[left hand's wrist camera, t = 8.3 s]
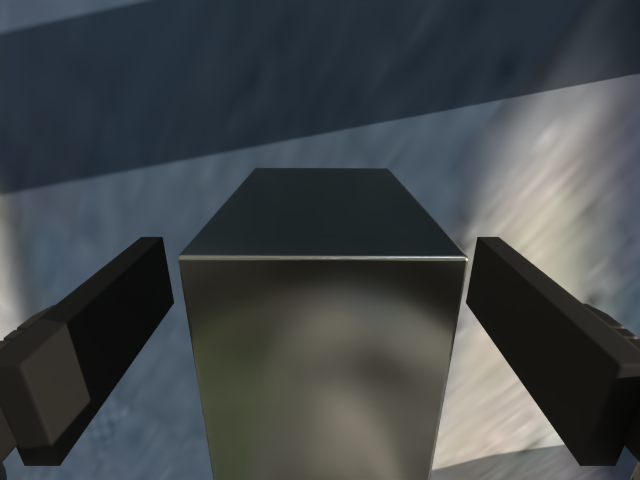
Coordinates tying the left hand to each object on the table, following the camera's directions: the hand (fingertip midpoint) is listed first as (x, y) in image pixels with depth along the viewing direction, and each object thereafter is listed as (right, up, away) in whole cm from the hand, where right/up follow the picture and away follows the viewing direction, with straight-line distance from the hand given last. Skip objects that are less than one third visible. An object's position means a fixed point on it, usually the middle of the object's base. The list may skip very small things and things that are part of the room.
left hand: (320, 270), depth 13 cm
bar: (0, -7, +5) cm, 8 cm away
